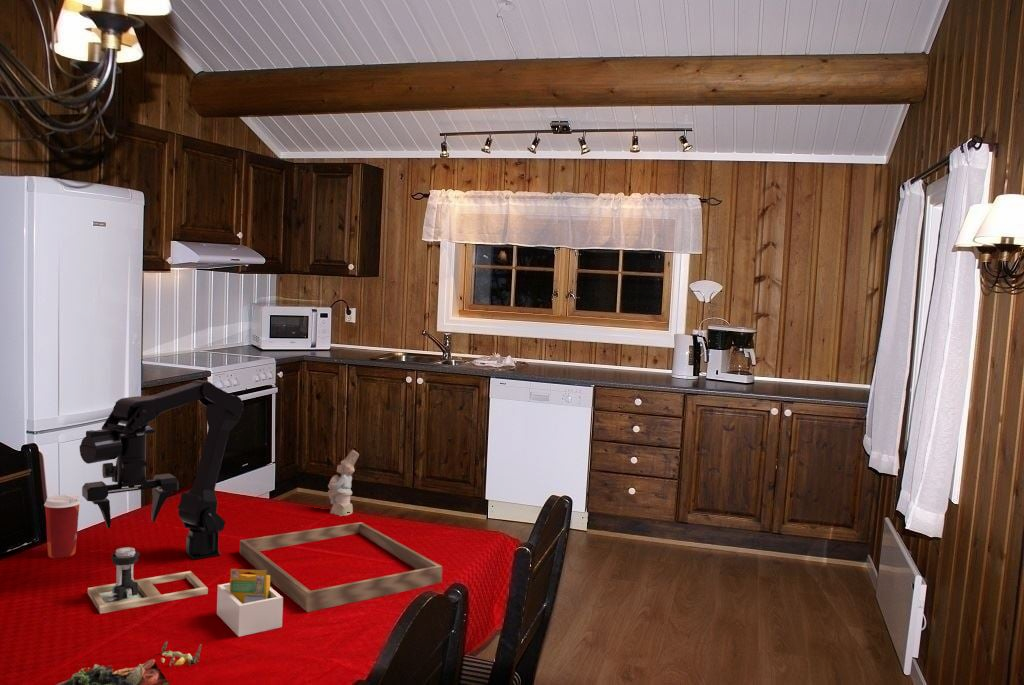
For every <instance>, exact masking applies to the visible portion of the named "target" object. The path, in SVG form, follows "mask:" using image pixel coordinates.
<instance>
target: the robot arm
mask: <svg viewBox="0 0 1024 685" xmlns="http://www.w3.org/2000/svg"><path fill="white" fill-rule="evenodd" d="M242 400H243V399H241V397H239V396H238V395H233V394H231V393H229V392H227V391H225V390H223V389H222V388H219V387H217V386H216V385H215V384H214V383H212V382H210V381H207V380H199V379H196V380H193V381H191V382H189V383H187V384H183V385H180V386H177V387H173V388H170V389H167V390H165V391H161V392H158V393H155V394H151V395H143V396H138V395H137V396H129V397H128V396H127V397H122V398H120V399H118V400H117V401H116V402H115V404H114V406H113V407H112V408H113V409H112V410H111V412H110V414H109V415H108V417H107V419H106V420H105V421H104V423H103V425H102V426H101V429H97V430H92V429H91V430H86V431H85V437H83V438H82V440H81V442H80V445H79V455H80V458H81V459H82V461H83V462H84V463H85V464H93V463H94V464H95V463H99V462H105V461H110V460H111V461H112V460H116V461H115V465H114V462H107V463H106V462H105V463H102V473H101V474H102V478H103V479H109V478H111V482H112V483H113V482H114V483H115V484H106V483H105V482H103V480H101V481H93V482H85V483H84V484H83V486H82V487H81V495H82V497H83V498H84V499H85V501H87V502H92V503H93V505H97V506H98V508H99V509H100V512H101V515H102V517H103V520H104V523H105V525H106V526H105V527H106V528H107V529H108V530H110V529H111V524H112V522H111V519H112V518H111V506H110V499H108V497H109V494H117V493H126V492H135V491H143V490H149V489H151V491H152V504H151V513H150V514H151V518H150V519H151V522H152V523H154V522H156V520H157V518H158V515H159V513H160V511H161V509H162V507H163V505H164V503H165V502H166V500H167V499H168V497H169V496H170V495H173V491H178V490H179V487H180V486H179V485H180V482H179V479H178V478H177V477H176V476H175V475H173V474H171V473H162V474H154V476H153V479H148V480H147V479H146V478H147V474H146V472H147V471H146V470H147V469H146V468H147V466H148V461H147V458H146V457H147V435H151V434H152V435H153V434H155V433H156V430H155V429H154V428H152V427H151V426H150V425H149V424H150V423H151V422H153V421H155V420H156V419H157V418H158V416H160V414H162V413H163V414H164V413H166V412H168V411H170V410H173V409H177V408H179V407H182V406H185V405H187V404H191V403H194V402H199V403H200V404H201V405H202V406H204V407H206V409H205V419H206V423H207V427H208V428H207V433H206V436H205V441H204V444H203V449H202V451H201V455H200V460H199V463H198V467H197V471H196V475H195V479H194V482H193V484H192V487H191V488H190V489H189V491H187V492H185V491H183V492H182V493H181V495H180V500H179V503H178V506H177V510H178V517H179V519H180V520H181V521H182V523H183V527H184V528H186V529H188V535H186V539H185V542H186V543H185V553H186V554H187V555H188V556H189V557H190V558H192V559H193V560H197V559H203V558H205V559H206V558H210V557H216V556H217V557H218V556H221V551H220V550H219V539H220V538H219V535H220V534H219V533H220V532H221V531H223V530H224V529H225V525H226V521H225V520H224V519H223V518H222V517H221V516H220V514H218V513H217V511H218V510H217V509H218V499H217V495H216V491H215V490H216V486H217V481H218V477H219V474H220V470H221V466H222V463H223V459H224V453H225V451H226V446H227V444H228V443H227V442H228V439H229V434H230V433H231V431H232V430H233V428H234V427H235V426H236V425H237V424H238V423H239V420H240V418H241V415H242V413H243V411H244V402H243V401H242Z"/></svg>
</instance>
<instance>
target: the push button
mask: <svg viewBox="0 0 1024 685" xmlns="http://www.w3.org/2000/svg"><path fill="white" fill-rule="evenodd" d="M139 556H140V552H139V551H136V549H135V548H134V547H129V546H127V547H126V546H125V547H120V548H117V549H116V550H115V552H114V553H112V554H111V555H110V557H111V560H112V561H111V562H112V564H114V565H115V566H116V578H115V579H116V582H115V583H116V586H114V587H113V588H112V594H110V595H108V596H112V598H111V599H112V600H114V599H115V600H118V601H119V600H122V599H124V598H129V597H131V596H132V595H137V593H139V591H138V582H134V581H133V580H135V578H134V565H135V563H137V562H138V561H139ZM108 600H109V601H111V600H110V599H108Z"/></svg>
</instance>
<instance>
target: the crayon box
mask: <svg viewBox="0 0 1024 685" xmlns="http://www.w3.org/2000/svg"><path fill="white" fill-rule="evenodd" d="M246 573H247V574H246ZM248 573H249V574H248ZM266 574H267V570H257V569H242V568H241V569H239V568H238V569H237V568H230V578H229V583H230V593H231V594H232V595H233V596H235V597H236V598H237V599H238V600H239V601H240V602H241V603H242V604H244V603H249V602H254V601H259V600H264V599H269V591H270V587H271V581H270V575H266Z"/></svg>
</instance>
